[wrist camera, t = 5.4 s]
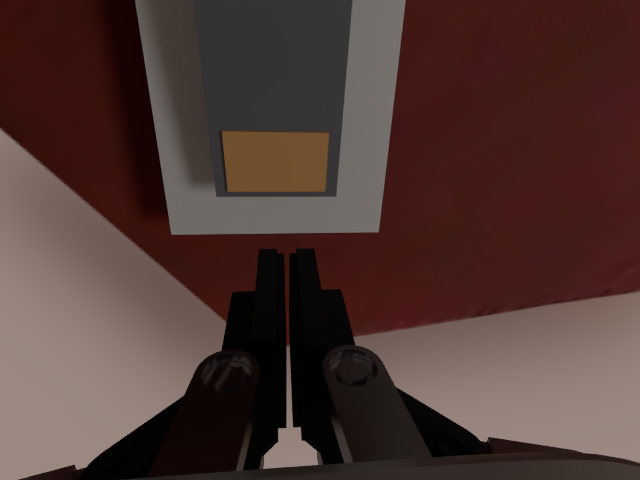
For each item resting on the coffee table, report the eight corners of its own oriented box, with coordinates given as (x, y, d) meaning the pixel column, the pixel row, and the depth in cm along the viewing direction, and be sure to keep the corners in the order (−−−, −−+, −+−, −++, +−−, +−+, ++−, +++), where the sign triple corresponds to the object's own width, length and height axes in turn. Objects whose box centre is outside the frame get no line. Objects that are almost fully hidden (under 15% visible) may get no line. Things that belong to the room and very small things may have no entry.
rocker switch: (189, -74, 18) (182, -78, 17) (352, -63, 19) (358, -65, 18) (219, 186, 27) (215, 198, 25) (333, 186, 27) (336, 198, 26)
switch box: (135, -131, 23) (96, -180, 18) (400, -109, 24) (431, -148, 19) (183, 213, 32) (166, 243, 28) (368, 212, 34) (383, 240, 29)
